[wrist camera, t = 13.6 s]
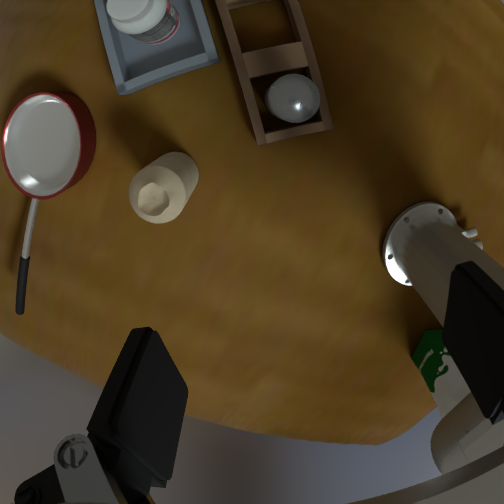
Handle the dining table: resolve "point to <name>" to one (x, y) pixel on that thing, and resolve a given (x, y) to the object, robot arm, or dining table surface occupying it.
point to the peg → (292, 98)
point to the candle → (163, 187)
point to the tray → (158, 49)
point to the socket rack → (276, 69)
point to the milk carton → (439, 371)
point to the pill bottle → (145, 19)
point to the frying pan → (45, 156)
